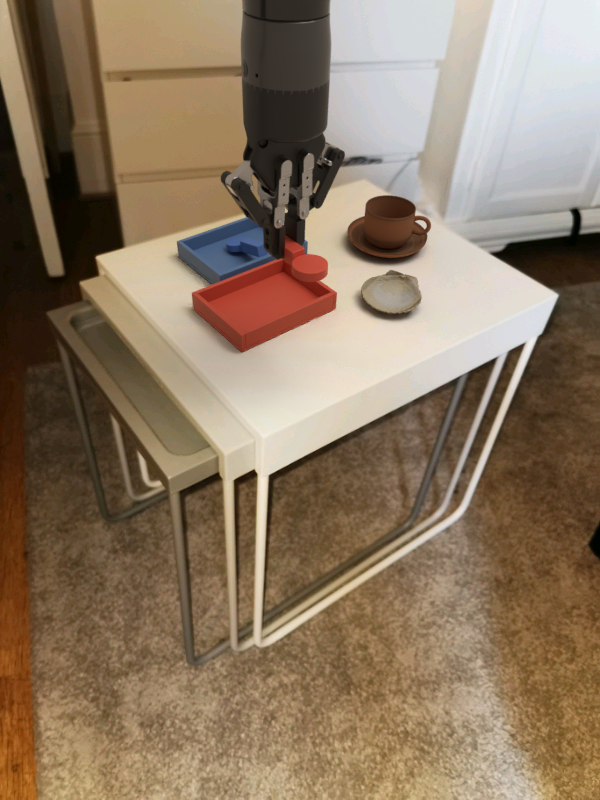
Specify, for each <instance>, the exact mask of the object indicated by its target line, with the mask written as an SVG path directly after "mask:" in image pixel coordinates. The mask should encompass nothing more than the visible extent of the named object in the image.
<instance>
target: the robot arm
mask: <svg viewBox="0 0 600 800" xmlns="http://www.w3.org/2000/svg"><path fill="white" fill-rule="evenodd" d="M331 1H332V0H241V7H242V8H241V9H242V17H241V19H242V20H241V31H240V64H241V65H240V67H241V95H242V97H241V98H242V119H243V127H244V131H245V136H246V143H245V147H244V150H243V152H242V160H243V161H242V162H241V163H240V164H239V165H238V166H237V167H236V168H235V169H234V170H233V172H231V171H230V170H224V171H223V172H222V173H221V175H220V182H221V184H222V185H223V186H224V188H225V189H226V191H227V192H228V193H229V195H230V196H231V198H232V199H233V201H234V202H235V203H236V205H237V206H238V207H239V209H240V210H241V211H242V213H243V215H244V216H245V217H247V218H249V219H250V220H252V221H253V222H254V223H256V224H257V225H259V226H260V227H262V228H263V237H264V238H263V241H264V242H263V246H264V249H265V250H266V251H267V252H268V253H269V254H270V255H271V256H273V257H274V258H275V259H277V260H279V259H282V258H284V248H285V235H286V236H287V237H289V238H290V239H292V240H293V241H295V242H296V243H298V244H299V245H301V246H302V245H303V244H304V241H305V240H306V219H307V218H308V217H309V215H310V211H311V210H313V209H316V210H317V209H318V210H319V209H320V208H322V206H323V205H324V203H325V200H326V198H327V196H328V193H329V192H330V189H331V187H332V186H333V183H334V181H335V179H336V177H337V175H338V173H339V170H340V168H341V166H342V164H343V162H344V160H345V157H346V153H345V151H344V150H342V149H341V148H339V147H338V146H336V145H334V144H331V143H329V142H327V139H326V136H325V134H324V133H325V132H326V130H327V128H328V122H329V121H328V120H329V104H330V103H329V101H330V84H331V81H330V80H331V63H332V31H331V30H332V29H331ZM253 176H254V178H256V180H257V190H256V191H257V195H258V197H259V200H258V199H257V196H255V194H254V192H253V191H254V190H255V186H254V181H253ZM318 183H319V184H318ZM317 184H318V186H317ZM316 186H317V188H316ZM315 188H316V190H315ZM314 190H315V192H314ZM286 211H287V212H286Z"/></svg>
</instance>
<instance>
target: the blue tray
mask: <svg viewBox="0 0 600 800" xmlns="http://www.w3.org/2000/svg"><path fill="white" fill-rule="evenodd" d="M239 237H248V238H251V239H254V240H257V241H260V242H264V241H263V238H264V237H263V228H262V227H260V226H259V225H257V224H256V223H254V222H253V221H252V220H250V219H249V218H247V217H246V216H245V217H243V218H240V219H236V220H234V221H231V222H228V223H225V224H222V225H220V226H216V227H214V228H211V229H208V230H205V231H203V232H199V233H196V234H194V235H190V236H187V237H185V238H182V239H179V240H176V248H177V257H178V258H179V259H180V260H182V261H183V262H184V263H185V264H186V265H188V266H189V267H190V268H191V269H192V270H194V271H195V272H196V273H197V274H199V276H201V277H202V278H203V279H204V280H205V281H207V282H208V283H210V285H212V284H215V283H218V282H220V281H223V280H225V279H228V278H230V277H233V276H235V275H238V274H240V273H243V272H246V271H248V270H251V269H253V268H256V267H258V266H261V265H263V264H266V263H268V262H271V261H273V260H276V259H275V258H274V257H273V256H271V255H270V254H269V253H268V254H267V255H264V256H262V257H256V256H253V255H250V254H247V253H244V252H242V251H241V252H229V251H228V250H227V245H226V242H227V241H229V240H231V239H234V238H239ZM308 245H309V241H307V240H306V239H305V241H304V244H303V245H302V247H304V248H305V254H308V248H309V247H308Z"/></svg>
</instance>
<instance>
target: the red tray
mask: <svg viewBox="0 0 600 800" xmlns="http://www.w3.org/2000/svg"><path fill="white" fill-rule="evenodd" d="M337 300H338V292H337V291H335V290H334V289H332V288H331V287H330V286H328V284H326V283H324V282H323V281H322V280H320V281H316V282H305V281H301V280H298V279H297V278H295V277H294V276H293V274H292V266H291V265H290V264H288V263H287V262H286V261H284V260H283V259H279V260H277V259H276V260H273V261H271V262H268V263H266V264H263V265H261V266H258V267H256V268H253V269H251V270H248V271H246V272H243V273H240V274H238V275H235V276H233V277H230V278H228V279H225V280H223V281H220V282H218V283H215V284H210V285H207V286H204V287H202V288H200V289H198V290H195V291H193V292H191V301H192V309H193V311H195V312H196V313H197V314H198V315H199V316H200V317H202V318H203V319H204V320H205V321H206V322H207V323H208V324H209V325H211V326H212V327H213V328H214V329H215V330H216V331H217V332H218V333H219V334H221V335H222V336H223V337H224V338H225V339H226V340H227V341H228V342H230V343H231V344H232V345H233V346H234V347H235V348H237V349H238V351H240V352H241V353H243V352H246V351H248V350H250V349H253V348H254V347H257V346H258V345H261V344H263V343H265V342H267V341H269V340H272V339H274V338H276V337H279V336H280V335H283V334H285V333H287V332H289V331H291V330H294V329H295V328H298V327H299V326H302V325H303V324H304V325H305V324H306V323H309V322H310V321H313V320H315V319H317V318H320V317H321V316H323V315H325V314H328V313H330V312H332V311H335V310H337Z"/></svg>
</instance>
